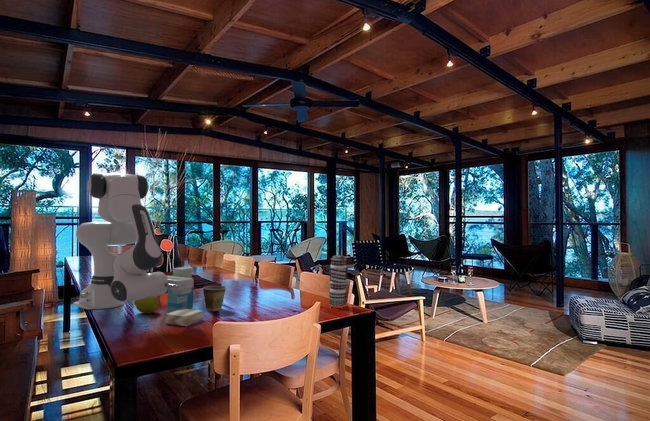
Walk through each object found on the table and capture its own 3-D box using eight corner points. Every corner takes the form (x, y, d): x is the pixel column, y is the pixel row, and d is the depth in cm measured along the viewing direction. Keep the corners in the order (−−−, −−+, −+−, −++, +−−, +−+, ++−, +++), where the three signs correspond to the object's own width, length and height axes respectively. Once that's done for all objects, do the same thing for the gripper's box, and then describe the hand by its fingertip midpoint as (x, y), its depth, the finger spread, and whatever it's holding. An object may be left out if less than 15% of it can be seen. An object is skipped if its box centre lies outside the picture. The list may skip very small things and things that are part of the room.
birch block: (165, 324, 146) (165, 314, 146) (182, 317, 156) (182, 308, 156) (186, 327, 143) (186, 316, 143) (202, 320, 152) (202, 310, 152)
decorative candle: (344, 309, 176) (345, 257, 177) (325, 307, 179) (327, 256, 179) (348, 305, 185) (349, 255, 185) (330, 303, 188) (332, 254, 188)
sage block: (172, 293, 147) (173, 268, 148) (181, 291, 152) (182, 267, 152) (181, 294, 145) (182, 269, 146) (190, 292, 150) (191, 268, 150)
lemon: (163, 312, 163) (164, 293, 163) (151, 316, 155) (152, 297, 155) (142, 310, 165) (143, 292, 165) (129, 314, 157) (130, 295, 158)
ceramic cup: (228, 310, 169) (228, 288, 169) (206, 313, 163) (206, 290, 163) (218, 304, 179) (219, 283, 179) (197, 306, 174) (198, 285, 174)
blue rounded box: (175, 315, 158) (176, 287, 158) (166, 314, 159) (167, 286, 160) (193, 309, 169) (194, 282, 170) (184, 308, 171) (185, 282, 171)
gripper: (177, 277, 133) (204, 273, 146) (137, 273, 141) (165, 269, 154) (177, 295, 133) (203, 289, 146) (136, 289, 141) (165, 284, 154)
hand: (183, 278), depth 150 cm, fingers closed on sage block, 5 cm apart
